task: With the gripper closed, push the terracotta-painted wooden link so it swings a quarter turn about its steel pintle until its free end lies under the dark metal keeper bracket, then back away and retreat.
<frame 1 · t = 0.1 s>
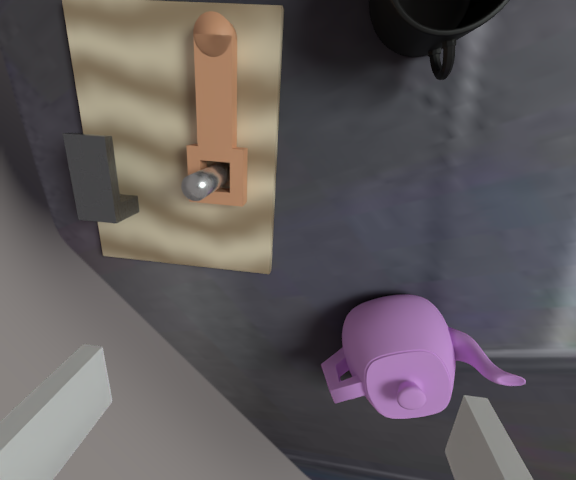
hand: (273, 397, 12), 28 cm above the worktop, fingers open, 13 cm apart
link: (217, 117, 33), point 2 cm above the worktop, hinge at 0.0°
pintle: (221, 173, 36), resting on board
keeper: (117, 173, 38), resting on board
mug: (421, 15, 30), on the worktop
board: (182, 150, 37), on the worktop
teapot: (396, 330, 43), on the worktop
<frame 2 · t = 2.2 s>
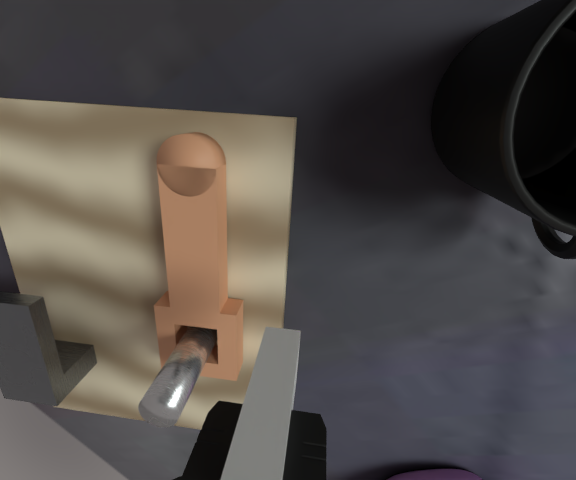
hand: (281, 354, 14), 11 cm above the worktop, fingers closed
link: (198, 267, 22), point 2 cm above the worktop, hinge at 0.0°
pintle: (207, 326, 26), resting on board
keeper: (64, 317, 27), resting on board
mug: (511, 131, 19), on the worktop
board: (152, 289, 27), on the worktop
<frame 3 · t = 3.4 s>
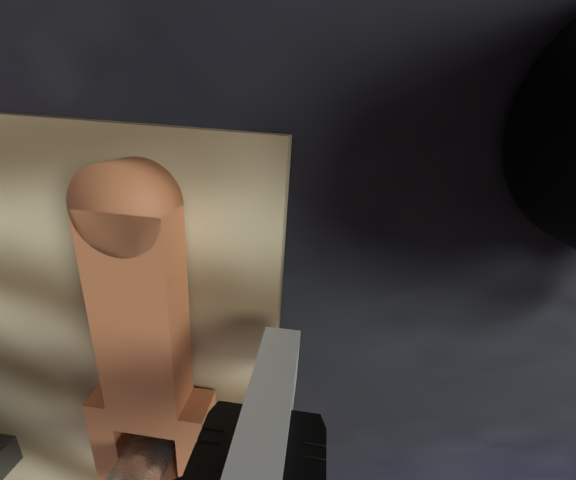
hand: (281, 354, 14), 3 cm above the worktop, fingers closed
link: (145, 351, 15), point 2 cm above the worktop, hinge at 0.0°
pintle: (166, 420, 19), resting on board
board: (93, 365, 19), on the worktop
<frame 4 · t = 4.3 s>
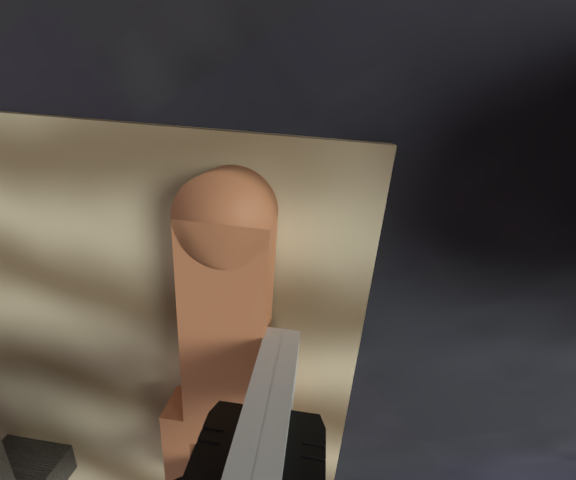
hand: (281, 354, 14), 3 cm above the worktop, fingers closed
link: (227, 363, 15), point 2 cm above the worktop, hinge at 0.0°, touching gripper
keeper: (30, 410, 20), resting on board
board: (155, 374, 19), on the worktop
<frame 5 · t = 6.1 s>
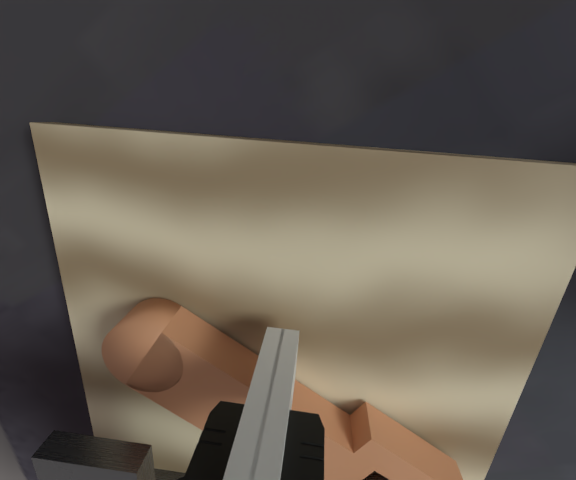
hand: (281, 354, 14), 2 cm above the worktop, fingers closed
link: (280, 423, 16), point 2 cm above the worktop, hinge at 58.0°, touching gripper
keeper: (150, 438, 19), resting on board
board: (284, 400, 18), on the worktop
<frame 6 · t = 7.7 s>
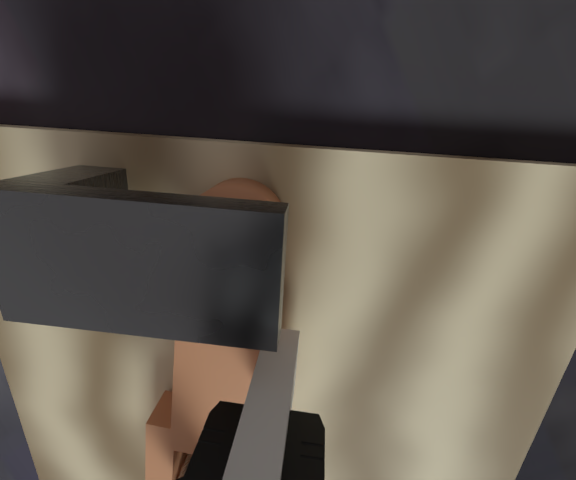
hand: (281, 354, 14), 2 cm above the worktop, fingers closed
link: (220, 373, 15), point 2 cm above the worktop, hinge at 83.9°, touching gripper
keeper: (188, 225, 14), resting on board
board: (258, 356, 17), on the worktop
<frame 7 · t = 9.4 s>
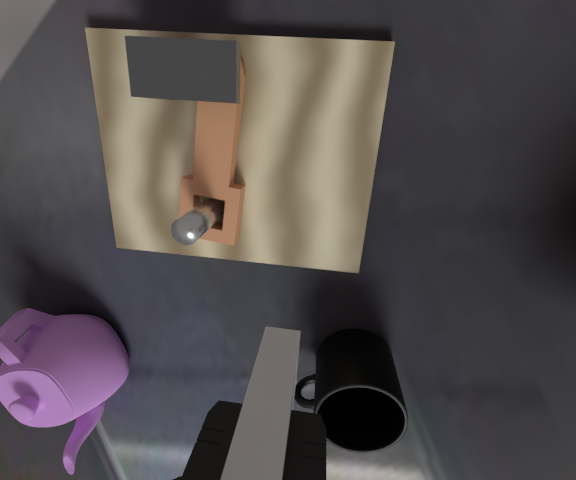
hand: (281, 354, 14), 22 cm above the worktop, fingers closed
link: (216, 152, 31), point 2 cm above the worktop, hinge at 83.9°
pintle: (215, 207, 35), resting on board
keeper: (202, 76, 30), resting on board
mug: (343, 358, 41), on the worktop
board: (236, 159, 34), on the worktop
teapot: (92, 348, 46), on the worktop
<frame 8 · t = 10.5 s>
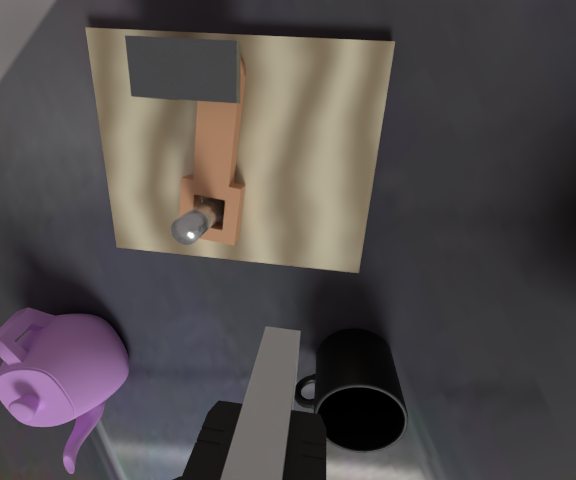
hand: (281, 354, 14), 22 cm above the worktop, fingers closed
link: (216, 152, 31), point 2 cm above the worktop, hinge at 83.9°
pintle: (215, 206, 35), resting on board
keeper: (202, 76, 30), resting on board
mug: (343, 358, 41), on the worktop
board: (236, 159, 34), on the worktop
teapot: (92, 348, 46), on the worktop
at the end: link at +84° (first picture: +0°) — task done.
